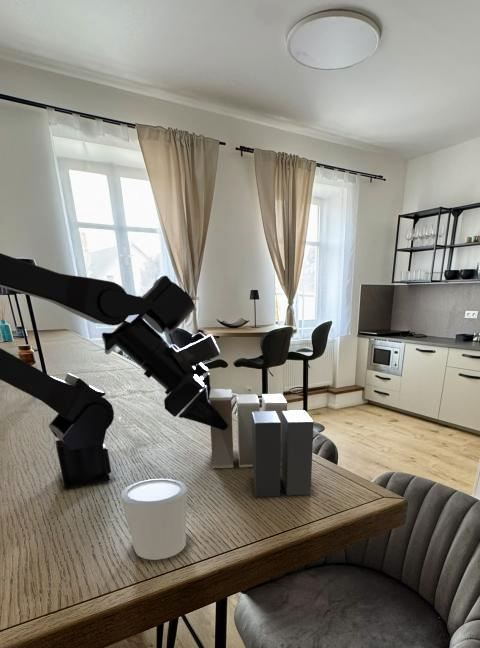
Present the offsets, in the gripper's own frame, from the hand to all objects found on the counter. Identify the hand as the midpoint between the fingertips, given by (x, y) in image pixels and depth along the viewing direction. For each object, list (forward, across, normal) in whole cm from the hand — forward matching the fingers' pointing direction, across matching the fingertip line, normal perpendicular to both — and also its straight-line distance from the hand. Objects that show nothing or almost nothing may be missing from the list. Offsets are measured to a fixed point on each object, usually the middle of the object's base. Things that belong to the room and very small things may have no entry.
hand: (226, 420), depth 70 cm
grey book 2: (+12, -12, -2) cm, 17 cm away
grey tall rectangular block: (+8, 0, +2) cm, 8 cm away
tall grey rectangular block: (+9, -12, +1) cm, 15 cm away
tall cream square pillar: (+5, 0, +6) cm, 7 cm away
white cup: (0, -27, +11) cm, 29 cm away
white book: (+11, 0, -1) cm, 11 cm away
